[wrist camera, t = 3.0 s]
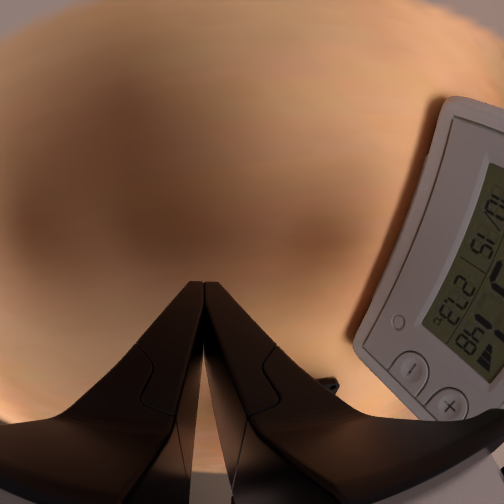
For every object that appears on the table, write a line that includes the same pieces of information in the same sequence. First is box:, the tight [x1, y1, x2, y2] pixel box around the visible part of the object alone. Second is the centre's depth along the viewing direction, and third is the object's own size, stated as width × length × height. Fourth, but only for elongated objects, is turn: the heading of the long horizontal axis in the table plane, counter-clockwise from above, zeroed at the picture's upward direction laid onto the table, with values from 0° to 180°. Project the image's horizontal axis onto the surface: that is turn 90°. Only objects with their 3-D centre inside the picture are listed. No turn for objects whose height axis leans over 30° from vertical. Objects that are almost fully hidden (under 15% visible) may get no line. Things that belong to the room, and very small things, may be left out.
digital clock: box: [353, 96, 504, 421], centre depth 11 cm, size 16×9×11 cm, turn 156°
